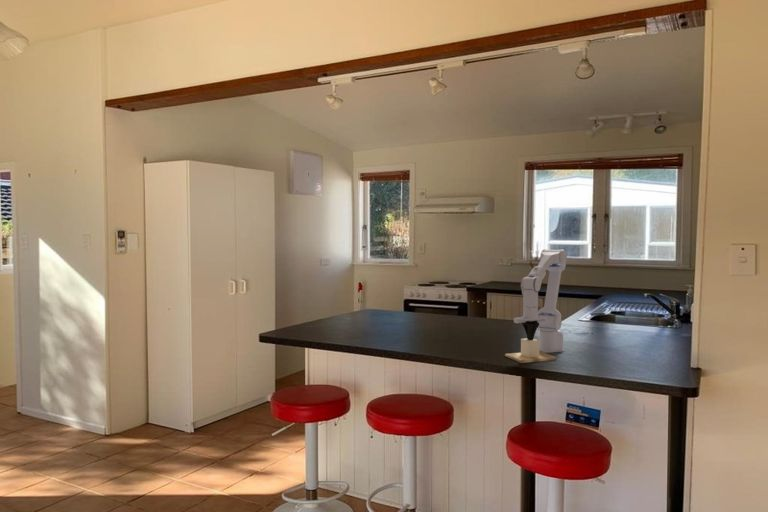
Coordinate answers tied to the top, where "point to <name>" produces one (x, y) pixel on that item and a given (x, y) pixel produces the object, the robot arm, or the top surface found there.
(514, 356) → the post board
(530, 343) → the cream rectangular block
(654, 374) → the top surface
